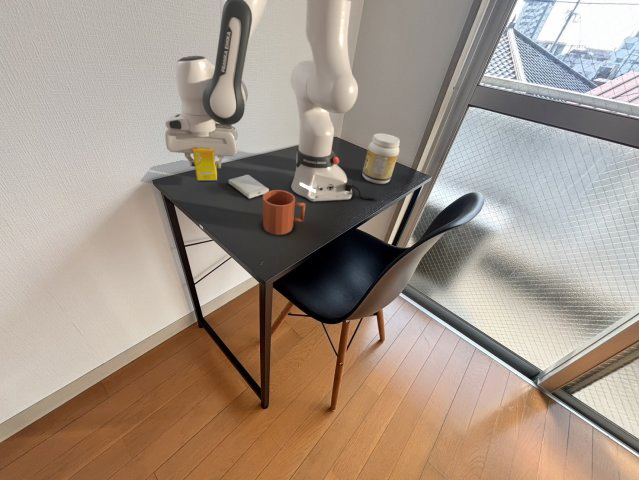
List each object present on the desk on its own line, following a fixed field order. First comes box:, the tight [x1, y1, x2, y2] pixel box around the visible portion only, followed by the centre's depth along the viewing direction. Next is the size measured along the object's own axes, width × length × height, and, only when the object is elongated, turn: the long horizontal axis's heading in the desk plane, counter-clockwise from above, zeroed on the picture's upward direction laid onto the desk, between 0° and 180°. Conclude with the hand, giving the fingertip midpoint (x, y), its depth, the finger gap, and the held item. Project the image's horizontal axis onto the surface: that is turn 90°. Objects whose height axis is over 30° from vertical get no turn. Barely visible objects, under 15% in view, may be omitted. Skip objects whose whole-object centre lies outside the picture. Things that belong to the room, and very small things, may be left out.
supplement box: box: [192, 148, 218, 183], centre depth 87 cm, size 6×6×11 cm
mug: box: [262, 189, 306, 236], centre depth 77 cm, size 12×9×10 cm
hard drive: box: [228, 174, 270, 199], centre depth 95 cm, size 2×8×12 cm
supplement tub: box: [361, 132, 401, 185], centre depth 109 cm, size 12×12×17 cm
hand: (205, 166), depth 88 cm, fingers closed on supplement box, 6 cm apart
